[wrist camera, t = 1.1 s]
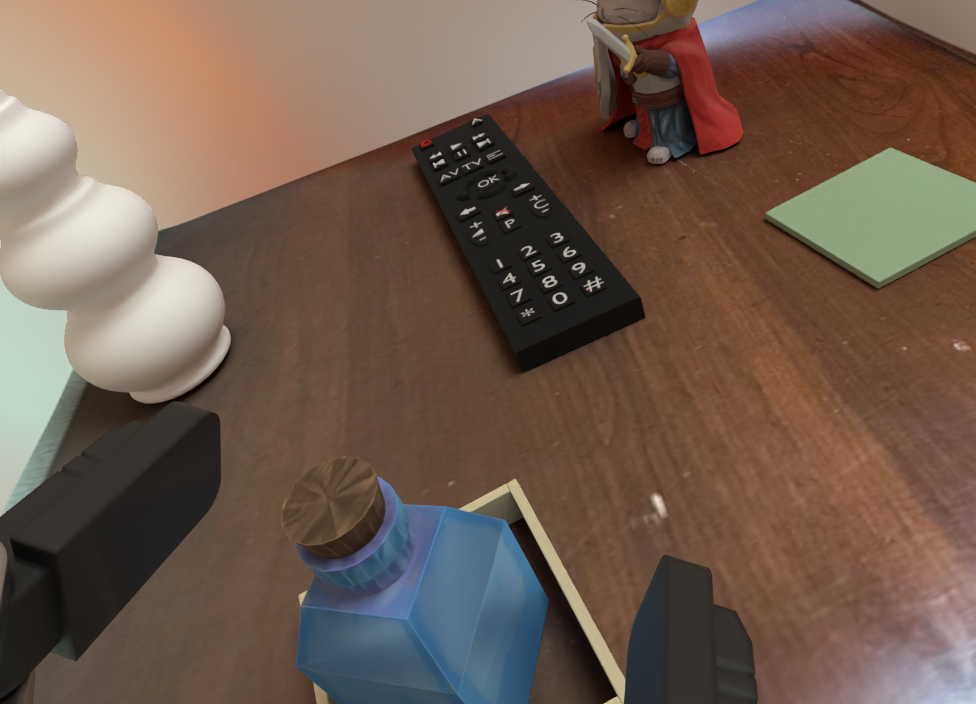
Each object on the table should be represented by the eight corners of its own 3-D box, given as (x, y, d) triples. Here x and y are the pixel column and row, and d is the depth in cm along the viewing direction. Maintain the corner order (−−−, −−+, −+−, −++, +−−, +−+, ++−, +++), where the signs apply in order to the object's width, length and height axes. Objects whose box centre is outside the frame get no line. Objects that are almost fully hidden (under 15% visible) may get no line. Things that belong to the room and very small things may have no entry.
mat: (1024, 211, 37) (1026, 203, 36) (878, 289, 36) (878, 282, 36) (889, 154, 44) (890, 147, 43) (765, 219, 43) (764, 212, 43)
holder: (648, 725, 25) (637, 701, 24) (372, 882, 24) (343, 868, 23) (528, 504, 33) (515, 478, 32) (320, 617, 33) (297, 594, 31)
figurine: (563, 135, 59) (511, -56, 50) (688, 79, 59) (659, -122, 49) (627, 201, 49) (576, -22, 39) (777, 134, 49) (763, -106, 39)
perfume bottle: (515, 760, 26) (379, 607, 18) (371, 731, 28) (198, 584, 20) (549, 600, 30) (450, 418, 22) (420, 586, 32) (291, 419, 24)
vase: (145, 449, 46) (-217, 96, 31) (100, 388, 54) (-208, 79, 38) (276, 345, 50) (16, -16, 34) (218, 302, 58) (-18, -12, 42)
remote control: (493, 128, 65) (486, 108, 63) (645, 317, 40) (639, 290, 39) (417, 162, 65) (409, 143, 63) (523, 372, 40) (513, 348, 39)
